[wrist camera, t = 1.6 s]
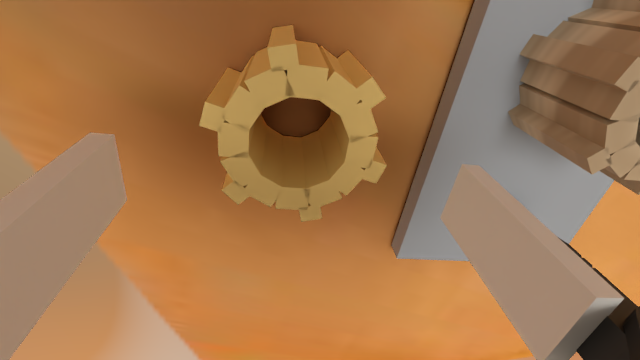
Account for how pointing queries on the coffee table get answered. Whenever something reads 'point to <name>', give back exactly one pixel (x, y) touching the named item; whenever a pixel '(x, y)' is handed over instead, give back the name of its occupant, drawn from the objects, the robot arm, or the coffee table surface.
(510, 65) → the gear board
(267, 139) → the ochre gear
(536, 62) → the gear
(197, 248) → the coffee table surface
